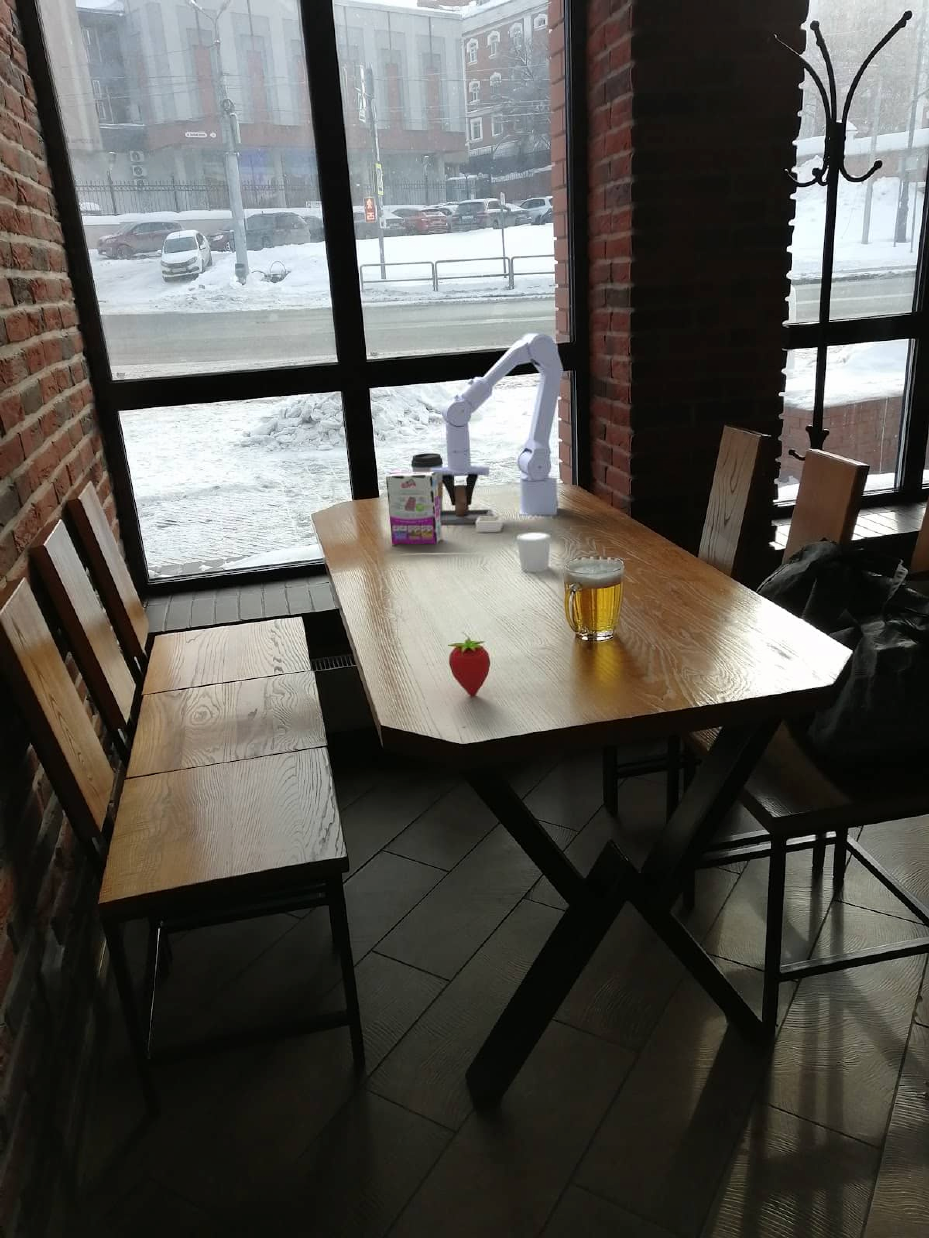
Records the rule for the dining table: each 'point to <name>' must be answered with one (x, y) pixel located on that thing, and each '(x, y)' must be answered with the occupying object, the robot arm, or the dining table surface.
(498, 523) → the white square frame
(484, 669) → the strawberry
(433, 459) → the coffee cup
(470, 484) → the robot arm
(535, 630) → the dining table surface
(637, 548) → the dining table surface
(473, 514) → the tray
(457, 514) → the dowel
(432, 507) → the candy bar box
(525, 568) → the white tapered cylinder
